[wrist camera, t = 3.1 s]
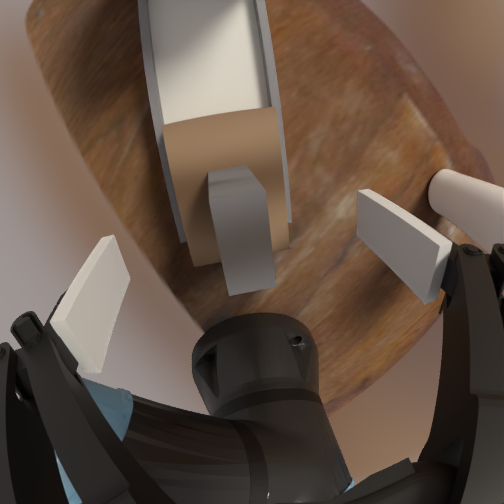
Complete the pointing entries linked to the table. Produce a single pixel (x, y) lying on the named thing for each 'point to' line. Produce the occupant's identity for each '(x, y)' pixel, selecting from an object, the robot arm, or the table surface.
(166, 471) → the robot arm
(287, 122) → the table surface
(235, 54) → the track
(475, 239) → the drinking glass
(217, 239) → the carriage
